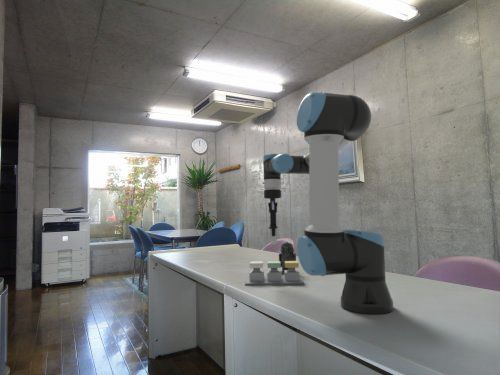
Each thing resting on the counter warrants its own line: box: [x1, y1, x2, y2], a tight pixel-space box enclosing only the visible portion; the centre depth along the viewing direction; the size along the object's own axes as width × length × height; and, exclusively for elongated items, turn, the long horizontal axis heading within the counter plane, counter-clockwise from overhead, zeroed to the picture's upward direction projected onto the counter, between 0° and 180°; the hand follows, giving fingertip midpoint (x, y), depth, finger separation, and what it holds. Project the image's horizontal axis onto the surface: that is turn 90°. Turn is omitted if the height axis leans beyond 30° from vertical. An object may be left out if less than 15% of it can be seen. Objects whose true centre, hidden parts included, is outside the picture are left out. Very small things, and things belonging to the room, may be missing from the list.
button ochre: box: [285, 260, 299, 272], centre depth 138 cm, size 6×6×5 cm
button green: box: [267, 260, 282, 272], centre depth 138 cm, size 6×6×5 cm
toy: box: [278, 241, 297, 275], centre depth 156 cm, size 8×6×15 cm
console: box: [244, 269, 306, 286], centre depth 138 cm, size 24×16×4 cm, turn 87°
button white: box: [249, 260, 264, 273], centre depth 139 cm, size 6×6×5 cm
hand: (273, 243), depth 139 cm, fingers closed
